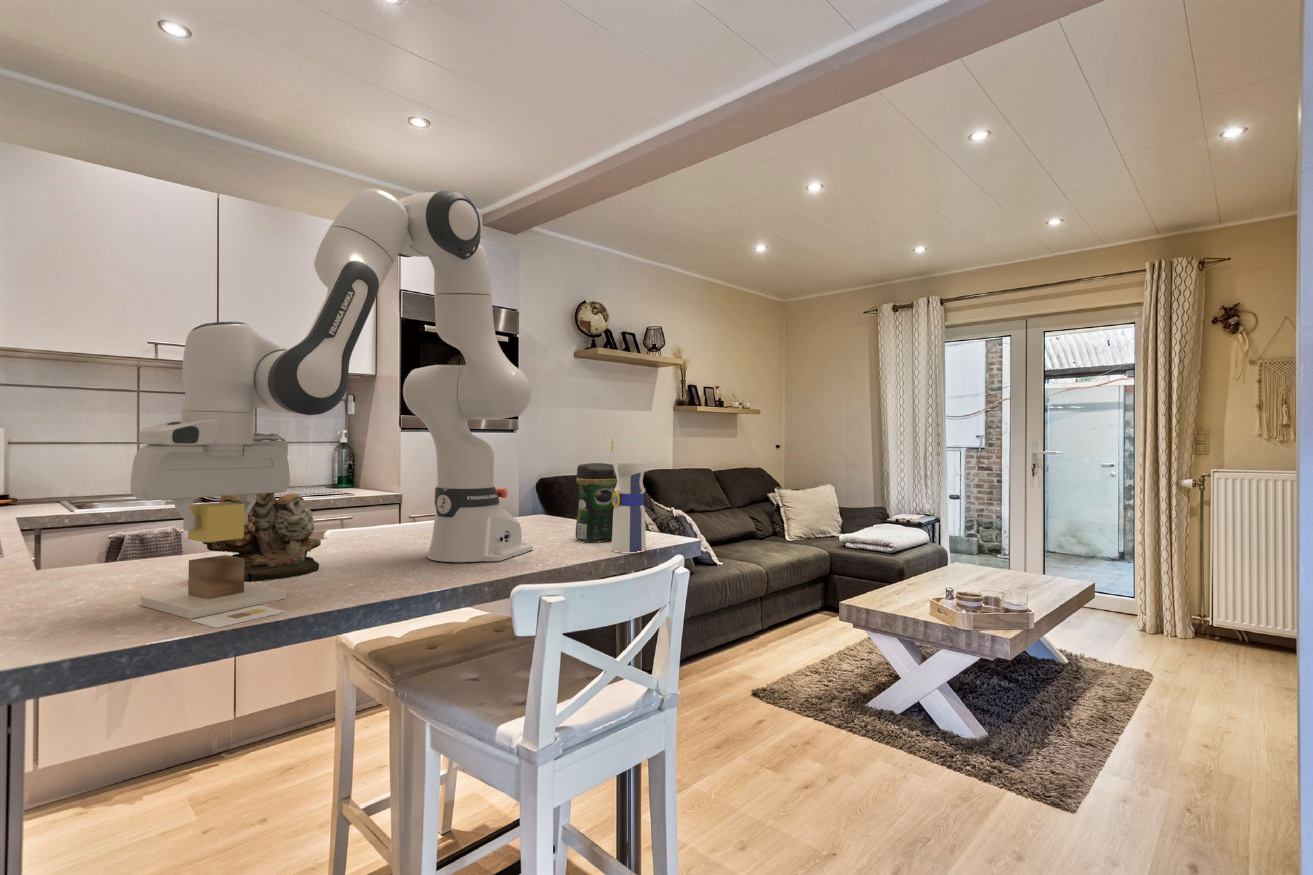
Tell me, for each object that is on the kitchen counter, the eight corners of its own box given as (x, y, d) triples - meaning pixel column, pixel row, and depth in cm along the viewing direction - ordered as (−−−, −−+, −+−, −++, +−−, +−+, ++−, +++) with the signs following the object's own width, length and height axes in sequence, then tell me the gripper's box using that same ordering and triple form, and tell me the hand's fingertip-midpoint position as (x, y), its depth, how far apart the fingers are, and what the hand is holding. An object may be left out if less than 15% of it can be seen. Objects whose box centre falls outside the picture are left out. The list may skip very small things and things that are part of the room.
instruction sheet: (259, 605, 94) (259, 604, 94) (285, 611, 91) (285, 610, 91) (190, 620, 86) (190, 619, 86) (216, 628, 83) (216, 626, 83)
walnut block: (224, 587, 99) (225, 554, 99) (243, 592, 97) (244, 558, 97) (188, 594, 95) (188, 560, 95) (207, 599, 92) (208, 563, 92)
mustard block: (224, 535, 99) (225, 501, 99) (243, 537, 96) (244, 503, 96) (187, 539, 94) (188, 504, 94) (207, 542, 92) (207, 506, 92)
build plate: (236, 587, 104) (236, 579, 104) (286, 598, 98) (286, 590, 98) (140, 605, 93) (141, 596, 93) (190, 618, 87) (190, 609, 87)
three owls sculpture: (206, 588, 104) (207, 481, 104) (194, 576, 113) (195, 477, 113) (328, 573, 116) (329, 476, 116) (309, 563, 125) (309, 473, 125)
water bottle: (619, 555, 139) (621, 437, 139) (603, 548, 146) (605, 436, 146) (654, 552, 142) (656, 437, 142) (636, 546, 150) (638, 437, 150)
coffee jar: (604, 536, 164) (606, 462, 164) (621, 540, 158) (622, 463, 157) (570, 539, 159) (571, 462, 159) (585, 544, 152) (587, 464, 152)
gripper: (275, 433, 106) (273, 518, 106) (125, 430, 88) (123, 533, 88) (299, 434, 103) (298, 521, 103) (149, 431, 85) (147, 537, 85)
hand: (216, 527), depth 95 cm, fingers closed on mustard block, 5 cm apart
